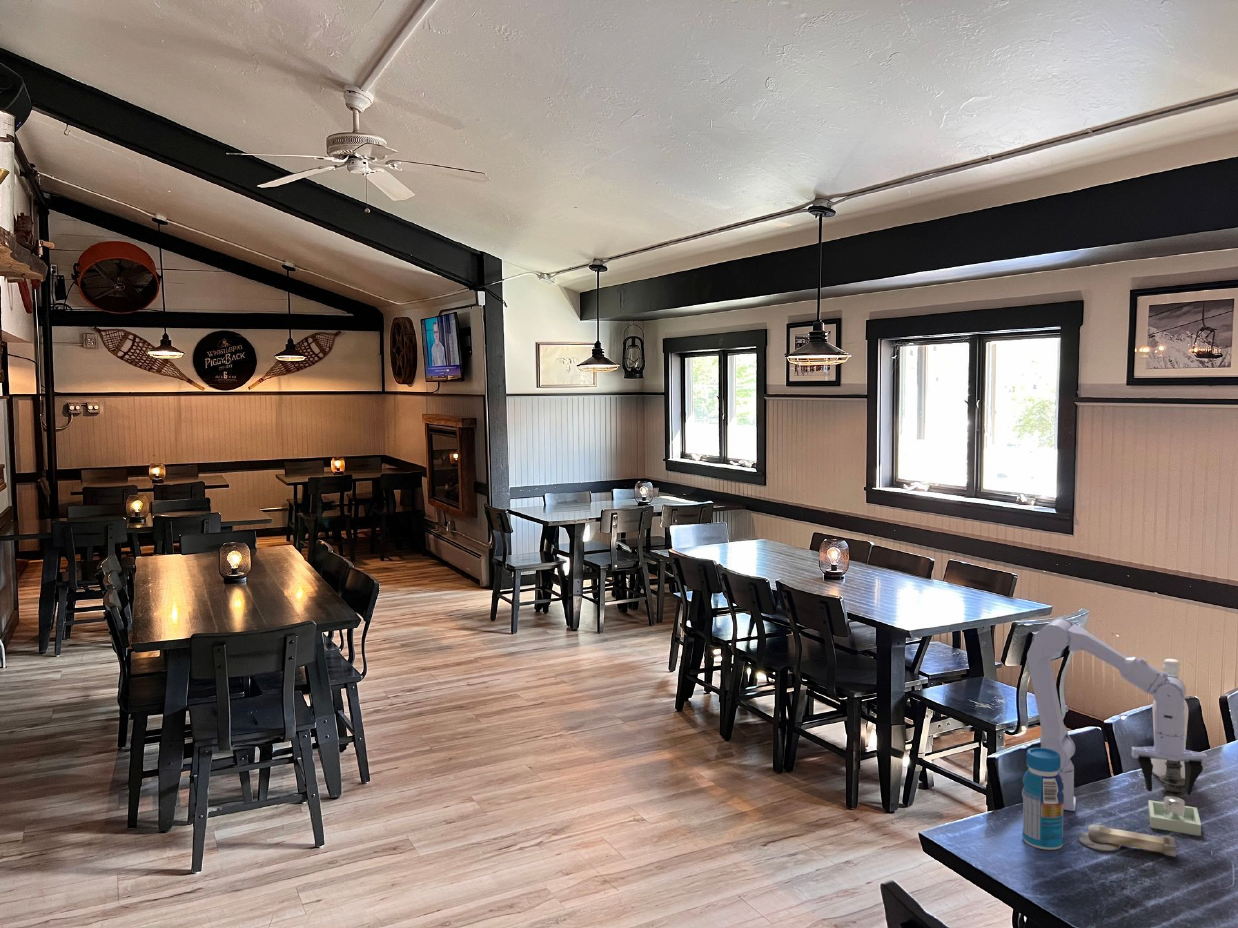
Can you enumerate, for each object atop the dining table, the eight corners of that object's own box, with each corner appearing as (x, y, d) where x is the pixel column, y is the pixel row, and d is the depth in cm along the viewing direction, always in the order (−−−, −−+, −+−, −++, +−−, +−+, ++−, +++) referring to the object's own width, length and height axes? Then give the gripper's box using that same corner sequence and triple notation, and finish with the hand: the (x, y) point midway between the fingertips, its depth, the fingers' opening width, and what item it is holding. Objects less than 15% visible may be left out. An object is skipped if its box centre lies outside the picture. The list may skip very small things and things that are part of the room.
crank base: (1078, 846, 195) (1078, 843, 195) (1079, 830, 202) (1079, 827, 202) (1120, 854, 191) (1120, 851, 191) (1120, 838, 199) (1120, 835, 199)
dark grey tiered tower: (1179, 789, 223) (1180, 741, 222) (1192, 799, 217) (1193, 750, 216) (1154, 788, 224) (1155, 741, 223) (1166, 798, 218) (1167, 750, 217)
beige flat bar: (1088, 840, 196) (1088, 831, 196) (1088, 830, 200) (1088, 822, 200) (1175, 856, 188) (1175, 847, 188) (1173, 846, 192) (1173, 837, 192)
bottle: (1143, 769, 235) (1145, 656, 234) (1173, 767, 236) (1175, 654, 234) (1165, 781, 227) (1167, 664, 226) (1195, 780, 228) (1197, 663, 226)
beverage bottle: (1015, 842, 197) (1016, 753, 196) (1029, 829, 204) (1029, 742, 202) (1056, 855, 192) (1057, 763, 190) (1069, 840, 198) (1070, 751, 197)
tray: (1150, 827, 203) (1150, 816, 203) (1148, 810, 212) (1148, 799, 212) (1200, 835, 199) (1201, 824, 199) (1196, 818, 207) (1196, 807, 207)
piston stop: (1163, 822, 205) (1163, 801, 204) (1163, 815, 208) (1164, 794, 208) (1184, 826, 202) (1184, 805, 202) (1184, 819, 206) (1184, 798, 205)
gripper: (1137, 735, 200) (1136, 794, 201) (1212, 741, 196) (1211, 802, 197) (1129, 724, 207) (1128, 782, 208) (1202, 730, 203) (1200, 789, 203)
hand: (1168, 791), depth 203 cm, fingers open, 7 cm apart
